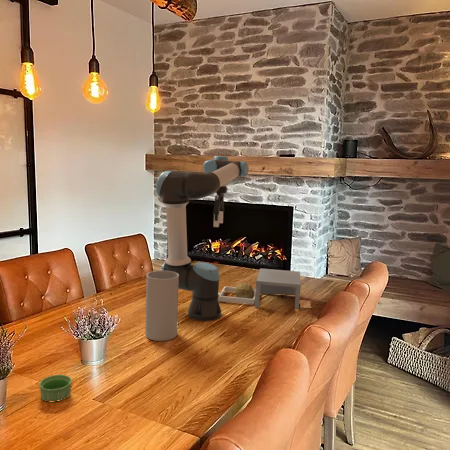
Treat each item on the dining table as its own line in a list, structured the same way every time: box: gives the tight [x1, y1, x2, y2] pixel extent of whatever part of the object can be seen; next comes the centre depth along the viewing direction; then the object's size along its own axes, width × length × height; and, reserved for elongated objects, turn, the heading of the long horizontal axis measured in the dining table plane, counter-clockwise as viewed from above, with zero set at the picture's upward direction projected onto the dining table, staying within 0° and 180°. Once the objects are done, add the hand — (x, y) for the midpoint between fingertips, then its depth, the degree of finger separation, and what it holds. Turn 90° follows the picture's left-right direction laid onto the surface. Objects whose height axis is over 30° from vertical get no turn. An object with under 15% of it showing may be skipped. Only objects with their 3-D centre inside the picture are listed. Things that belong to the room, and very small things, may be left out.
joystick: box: [218, 286, 256, 305], centre depth 230 cm, size 30×18×15 cm, turn 81°
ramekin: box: [38, 374, 73, 402], centre depth 133 cm, size 9×9×4 cm
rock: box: [234, 282, 254, 299], centre depth 230 cm, size 10×11×10 cm
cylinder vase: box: [144, 270, 179, 342], centre depth 178 cm, size 12×12×25 cm
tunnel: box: [254, 268, 301, 310], centre depth 226 cm, size 28×25×14 cm
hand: (218, 224), depth 243 cm, fingers open, 13 cm apart
